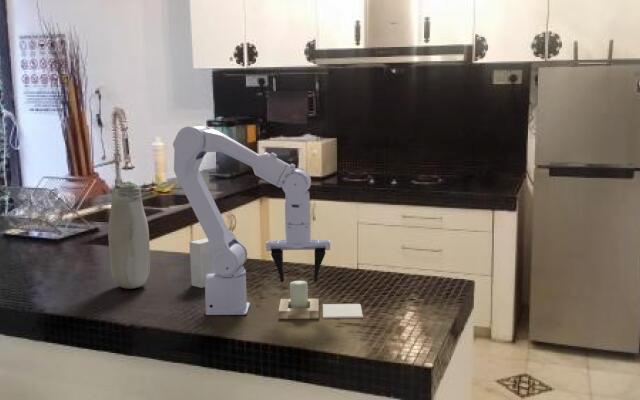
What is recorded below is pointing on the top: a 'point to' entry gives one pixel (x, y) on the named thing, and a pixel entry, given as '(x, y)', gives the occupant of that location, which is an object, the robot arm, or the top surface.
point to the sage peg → (298, 294)
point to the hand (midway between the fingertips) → (298, 280)
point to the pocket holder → (298, 310)
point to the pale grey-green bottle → (128, 237)
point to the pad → (342, 311)
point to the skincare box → (200, 262)
